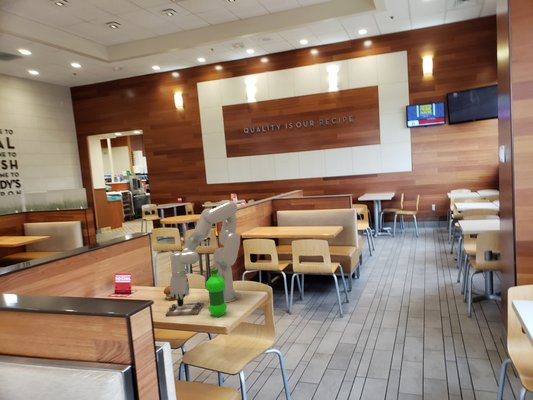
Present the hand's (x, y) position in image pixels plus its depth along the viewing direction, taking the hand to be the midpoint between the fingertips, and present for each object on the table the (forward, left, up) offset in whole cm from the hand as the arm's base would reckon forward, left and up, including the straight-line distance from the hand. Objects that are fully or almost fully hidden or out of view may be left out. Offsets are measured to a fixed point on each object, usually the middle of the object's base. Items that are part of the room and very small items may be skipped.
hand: (180, 305), depth 222 cm
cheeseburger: (+12, -24, -4) cm, 27 cm away
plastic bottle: (-23, +8, -4) cm, 25 cm away
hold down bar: (-2, -1, -1) cm, 3 cm away
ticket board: (-2, -1, -3) cm, 4 cm away
